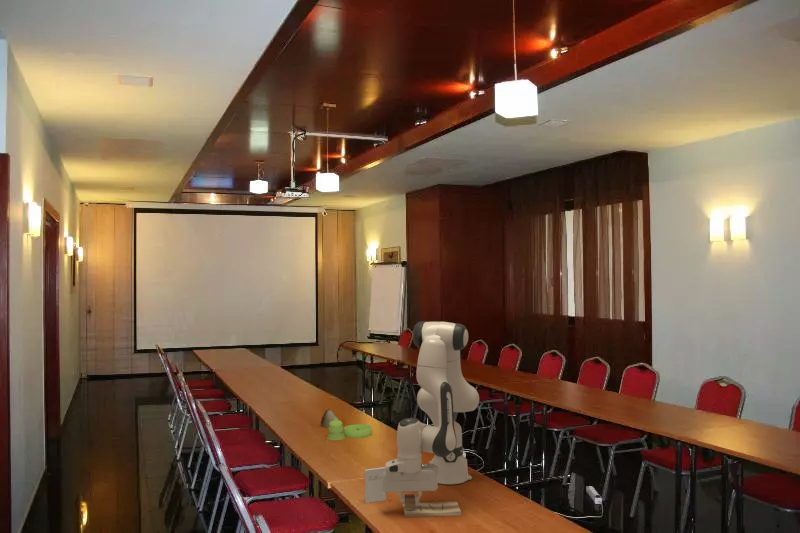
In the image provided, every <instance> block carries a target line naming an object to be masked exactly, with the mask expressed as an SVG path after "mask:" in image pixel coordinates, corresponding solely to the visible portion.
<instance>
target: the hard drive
mask: <svg viewBox="0 0 800 533" xmlns="http://www.w3.org/2000/svg"><path fill="white" fill-rule="evenodd" d="M384 471H385V466H382V467H381V466H380V467H374V468H368V469H367V468H365V469H364V503H365V502H366V503H365V504H370V503H369V502H371V503H377V501H378V502H383V501H385V502H386V501H387V492H384V491H383V490H382V477H383V473H384Z"/></svg>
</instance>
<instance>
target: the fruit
mask: <svg viewBox="0 0 800 533" xmlns="http://www.w3.org/2000/svg"><path fill="white" fill-rule="evenodd" d="M334 418H338V417H337V415H335V413H334V412H333V410H330V408H328V409H327V410H325V411H324V413H323V415H322V417H321V420H320V426H321V428H326V429H329V426H330V425H329V423H330V422H331V421H333V420H334Z"/></svg>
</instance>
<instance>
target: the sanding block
mask: <svg viewBox="0 0 800 533" xmlns="http://www.w3.org/2000/svg"><path fill="white" fill-rule="evenodd" d="M415 497H416V496H415V494H414V493H412V494H411V493H409V494H407V493H406V494H404V498H405V509H406V510H416V509H415Z"/></svg>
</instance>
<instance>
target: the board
mask: <svg viewBox="0 0 800 533" xmlns="http://www.w3.org/2000/svg"><path fill="white" fill-rule="evenodd" d="M402 507H403V513H404V514H403V515H404V518H418V517H419V518H420V517H421V518H423V517H450V516H453V517H455V516H462V510H461V508H460V506H459V503H458V501H434V502H433V501H432V502H419V503H415V509H416V510H406V509H405V504H402Z"/></svg>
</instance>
